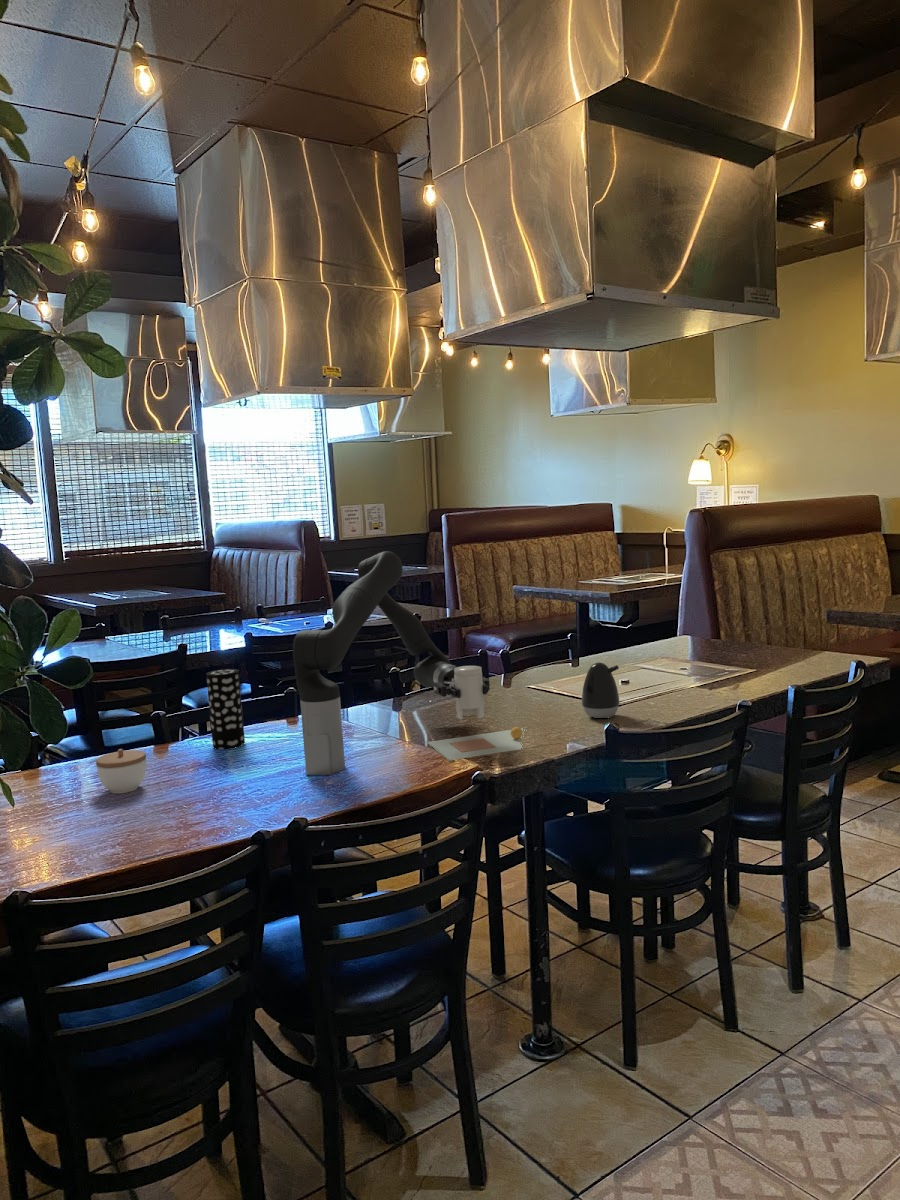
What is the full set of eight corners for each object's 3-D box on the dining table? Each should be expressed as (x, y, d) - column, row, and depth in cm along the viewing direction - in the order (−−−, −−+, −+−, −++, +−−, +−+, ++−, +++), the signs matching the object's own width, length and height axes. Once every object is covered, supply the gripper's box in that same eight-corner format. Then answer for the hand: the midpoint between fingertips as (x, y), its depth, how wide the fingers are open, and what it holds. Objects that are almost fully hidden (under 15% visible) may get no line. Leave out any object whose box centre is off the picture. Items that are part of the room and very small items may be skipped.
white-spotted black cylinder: (250, 741, 236) (244, 668, 234) (235, 750, 228) (228, 675, 226) (223, 741, 238) (216, 669, 236) (207, 749, 230) (200, 675, 228)
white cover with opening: (488, 717, 214) (485, 669, 213) (462, 721, 212) (459, 672, 210) (478, 711, 220) (475, 664, 219) (453, 715, 218) (450, 667, 217)
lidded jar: (91, 791, 200) (87, 751, 199) (136, 779, 207) (132, 740, 206) (111, 800, 192) (107, 759, 191) (157, 787, 200) (153, 747, 199)
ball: (521, 740, 219) (521, 728, 218) (510, 740, 219) (509, 728, 219) (523, 737, 222) (522, 725, 221) (511, 737, 222) (511, 725, 222)
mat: (535, 728, 232) (535, 725, 232) (564, 744, 215) (564, 741, 215) (427, 743, 222) (427, 741, 222) (449, 762, 205) (449, 759, 205)
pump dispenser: (618, 722, 233) (615, 666, 231) (579, 721, 236) (576, 666, 235) (623, 712, 242) (621, 659, 241) (586, 712, 246) (583, 659, 244)
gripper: (423, 669, 226) (443, 680, 210) (475, 662, 231) (498, 673, 215) (425, 697, 227) (445, 711, 211) (477, 690, 232) (500, 703, 216)
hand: (472, 692), depth 213 cm, fingers closed on white cover with opening, 6 cm apart
